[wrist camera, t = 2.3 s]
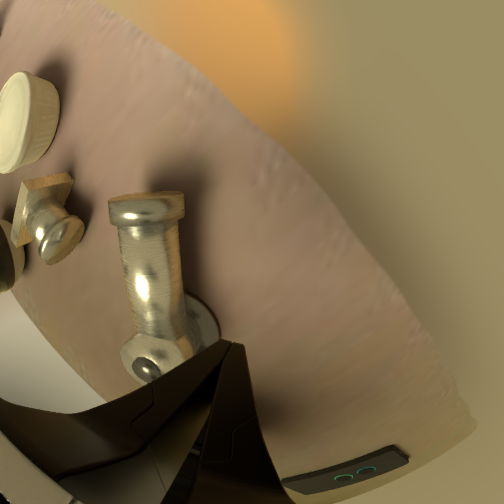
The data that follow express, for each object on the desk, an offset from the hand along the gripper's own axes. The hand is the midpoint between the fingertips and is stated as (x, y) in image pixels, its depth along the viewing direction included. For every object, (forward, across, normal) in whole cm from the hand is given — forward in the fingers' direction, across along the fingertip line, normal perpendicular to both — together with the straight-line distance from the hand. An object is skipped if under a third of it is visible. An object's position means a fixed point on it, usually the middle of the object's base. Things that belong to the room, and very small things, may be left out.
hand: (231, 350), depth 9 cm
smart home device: (+13, -19, +34) cm, 41 cm away
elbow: (+11, +8, +5) cm, 15 cm away
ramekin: (+12, +28, -10) cm, 32 cm away
